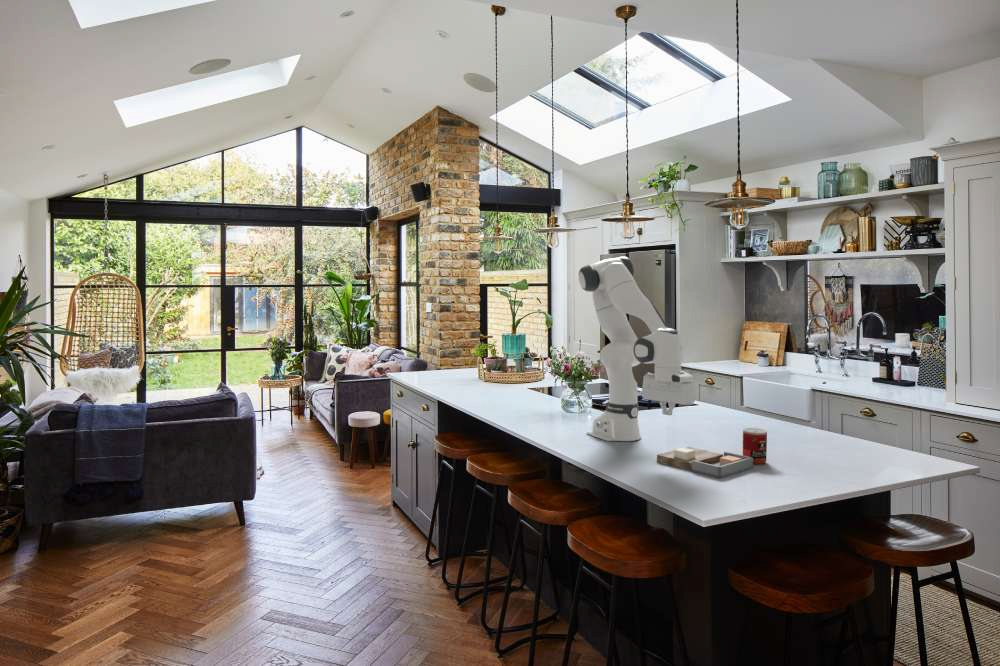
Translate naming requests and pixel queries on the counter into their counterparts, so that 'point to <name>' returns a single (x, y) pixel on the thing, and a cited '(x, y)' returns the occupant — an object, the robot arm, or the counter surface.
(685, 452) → the tile cream
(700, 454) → the board
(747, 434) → the canned food
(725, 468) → the tray
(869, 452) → the counter surface
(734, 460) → the tile terracotta
